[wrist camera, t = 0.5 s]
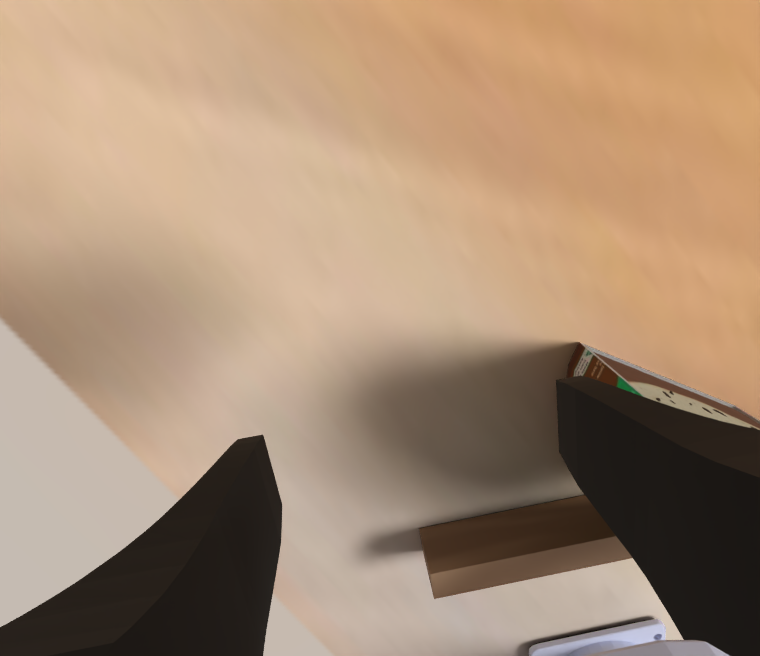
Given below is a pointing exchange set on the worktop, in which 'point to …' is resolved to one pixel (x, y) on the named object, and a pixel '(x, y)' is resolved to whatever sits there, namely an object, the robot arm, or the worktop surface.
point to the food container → (653, 386)
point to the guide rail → (517, 546)
